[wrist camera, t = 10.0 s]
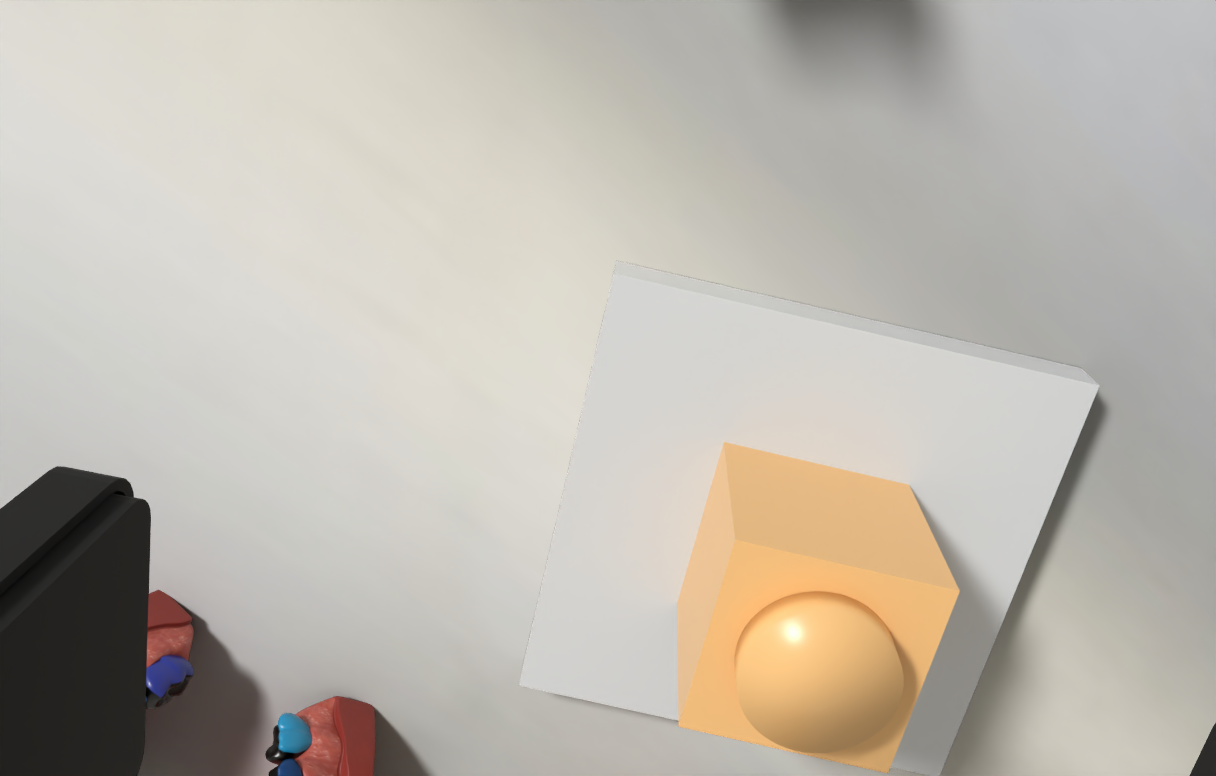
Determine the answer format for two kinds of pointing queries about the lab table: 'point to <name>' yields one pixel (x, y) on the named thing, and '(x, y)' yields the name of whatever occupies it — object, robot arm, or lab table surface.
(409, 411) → the lab table surface
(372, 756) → the teeth model
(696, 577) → the orange cube with hemisphere
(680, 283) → the plate
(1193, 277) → the lab table surface
